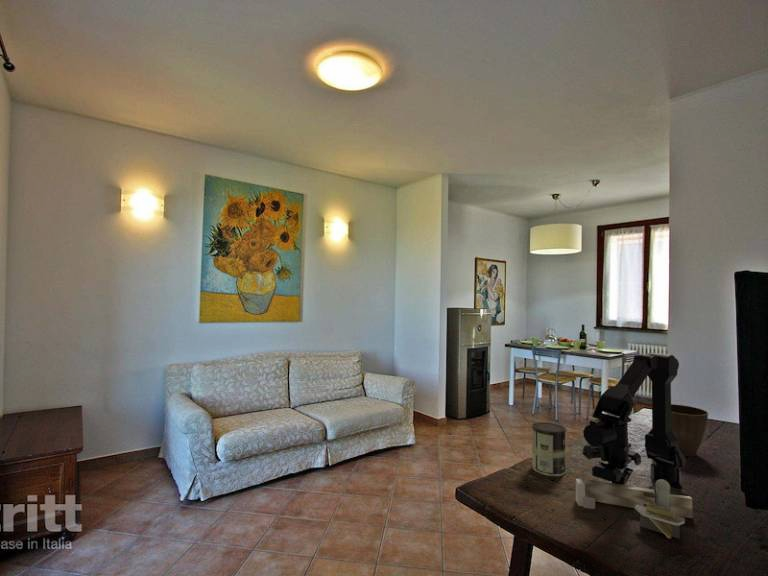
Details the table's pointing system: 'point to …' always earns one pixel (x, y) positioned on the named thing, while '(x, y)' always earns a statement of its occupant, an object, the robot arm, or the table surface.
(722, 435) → the table surface
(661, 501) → the hinge post
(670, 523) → the platform
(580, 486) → the cream l-shaped block
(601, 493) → the cream wooden bar
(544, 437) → the coffee can
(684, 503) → the block
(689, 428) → the plant pot
